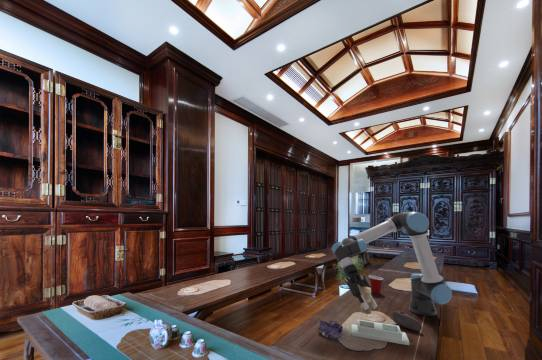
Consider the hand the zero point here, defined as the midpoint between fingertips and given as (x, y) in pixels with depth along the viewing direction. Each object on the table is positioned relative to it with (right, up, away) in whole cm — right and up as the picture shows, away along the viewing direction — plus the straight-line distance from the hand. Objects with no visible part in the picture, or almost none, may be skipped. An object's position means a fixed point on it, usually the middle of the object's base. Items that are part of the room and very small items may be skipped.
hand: (371, 308), depth 128 cm
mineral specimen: (-20, -14, +1) cm, 25 cm away
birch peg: (-2, -4, +3) cm, 5 cm away
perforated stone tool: (+24, -16, +10) cm, 30 cm away
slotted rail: (+4, -14, 0) cm, 14 cm away
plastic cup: (+32, -24, +70) cm, 80 cm away
